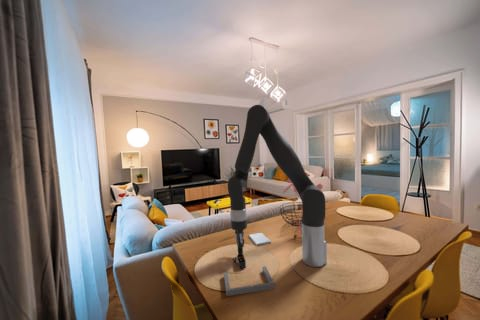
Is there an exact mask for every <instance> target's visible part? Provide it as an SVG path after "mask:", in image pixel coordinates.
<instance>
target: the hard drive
mask: <svg viewBox="0 0 480 320" xmlns="http://www.w3.org/2000/svg"><path fill="white" fill-rule="evenodd" d="M248 238H249V239H250V240H251V241H252V242H253V244H254V245H255V246H256V247H259V246H265V245H269V244H272V241H271V240H270V239H269V238H268V237H267V236H266V235H265V234H264V233H262V232H258V233H251V234H248Z"/></svg>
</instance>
